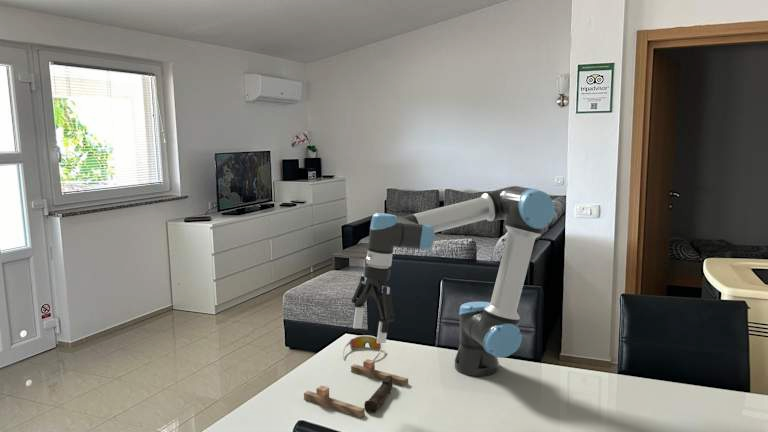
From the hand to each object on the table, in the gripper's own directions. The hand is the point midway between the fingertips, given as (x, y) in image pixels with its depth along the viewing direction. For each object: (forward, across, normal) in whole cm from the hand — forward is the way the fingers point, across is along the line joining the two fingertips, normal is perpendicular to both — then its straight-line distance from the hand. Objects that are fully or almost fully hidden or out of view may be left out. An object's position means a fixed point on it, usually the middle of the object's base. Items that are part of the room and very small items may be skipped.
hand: (368, 335), depth 171 cm
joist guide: (+22, -9, +4) cm, 24 cm away
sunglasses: (+21, -34, +22) cm, 46 cm away
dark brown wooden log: (+22, 0, +8) cm, 23 cm away
